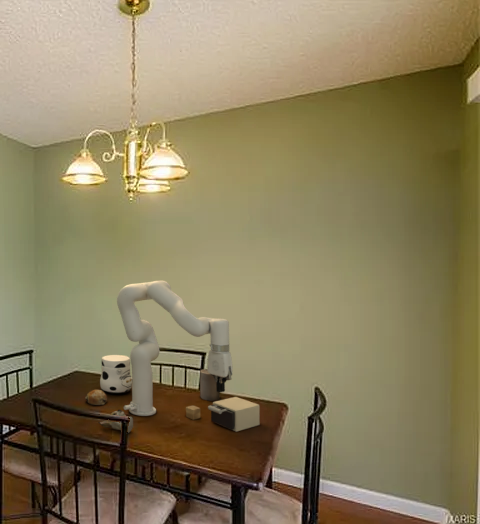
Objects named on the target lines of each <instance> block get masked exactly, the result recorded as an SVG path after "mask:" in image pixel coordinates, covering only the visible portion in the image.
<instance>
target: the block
mask: <svg viewBox="0 0 480 524" xmlns="http://www.w3.org/2000/svg"><path fill="white" fill-rule="evenodd" d="M185 417H186V418H188V419H190V420H192V421H194V420H198V419H201V407H198V406H196V405H188V406H185Z"/></svg>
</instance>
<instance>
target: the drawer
mask: <svg viewBox="0 0 480 524" xmlns="http://www.w3.org/2000/svg"><path fill="white" fill-rule="evenodd" d="M207 409H208V410H209V411H210V421H211V422H213V423H215V424H217V423H218V425H220V426H222V427H224V426H225V427H224V428H226V429H229V430H231V429H232V430H231V431H234V430H233V429H234V427H235V412H233V411H230V410H228V409H225V408H222V407H220V406H215V405H213V404H210V405H208V406H207Z"/></svg>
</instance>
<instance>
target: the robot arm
mask: <svg viewBox="0 0 480 524" xmlns="http://www.w3.org/2000/svg"><path fill="white" fill-rule="evenodd" d="M149 300H153V301H154V302H155V303H156V304H157V305H159V306H160V307H162V309H164V310H165V311H166V312H168V313H169V315H170V316H171V317H172V319H173V320H174V322H175V323H176V324H177V325H178V326H180V327H181V328H182V329H183V330H184V331H185V332H186V333H188V334H189V335H191V336H193V337H196V338H200V337H203V336H205V335H209V334H210V336H209V337H210V343H209V347H210V349H209V350H208V356H207V366H206V367H207V368H206V369H208V373H210V375H211V376H213V377H214V378H215V382H216V386H217V392H220V394H221V393H225V391H226V384H225V383H227V381H231V380H232V379H233V378H232V376H233V371H234V369H233V360H232V354H231V352H230V322H229V320H228V319H226V318H218V317H217V318H213V317H207V316H200V317H196V316H195V315H194V314H193V313H191V312H190V311H189V310H188V309H187V308H186V306H185V305H184V299H183V298H182V297H181V296H179V295H178V294H176V293H175V292H174V291H173V290H172V287H171V285H170V283H169V282H168V281H166V280H162V279H161V280H153V281H148V282H147V281H146V282H140V283H130V284H125V286H123V287H122V288H120V290H119V292H118V293H117V297H116V304H117V307H118V312H119V315H120V317H121V320H122V324H123V327H124V330H125V333H126V334H125V335H126V337H127V339H128V340H129V341H130V342H132V343H133V342H134V343H137V342H138V344H137V345H135V346H133V347H132V348H131V350H130V353H129V354H130V356H129V358H130V366H131V379H132V387H131V401H130V403H129V404H127V405H126V404H125V405H124V406H123V410H124V411H127V410H128V412H129V413H130V414H132V415H134V416H139V417H140V416H141V417H149V416H153V415H155V414H156V413H157V408H155V407H154V398H153V397H154V395H153V394H154V390H153V389H154V388H153V387H154V384H153V383H154V381H153V378H154V377H153V368H152V362H153V361H155V360H157V359H158V358H159V356H160V351H161V350H160V345H159V342H158V339H157V337H156V333H155V331H154V328H153V326H152V324H151V322H150V321H148V320H146V319H141V315H140V313H139V310H138V308H137V306H136V305H135V304H136V302H142V301H149Z"/></svg>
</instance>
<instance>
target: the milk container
mask: <svg viewBox="0 0 480 524" xmlns="http://www.w3.org/2000/svg"><path fill="white" fill-rule="evenodd" d="M99 385H100V390H102V391H103V392H104V393H109V394H114V395H116V394H117V395H120V394H126V393H128V392H130V391H132V374H131V359H130V356H127V355H121V354H108V355H104V356H102V357H101V375H100V379H99Z"/></svg>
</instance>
